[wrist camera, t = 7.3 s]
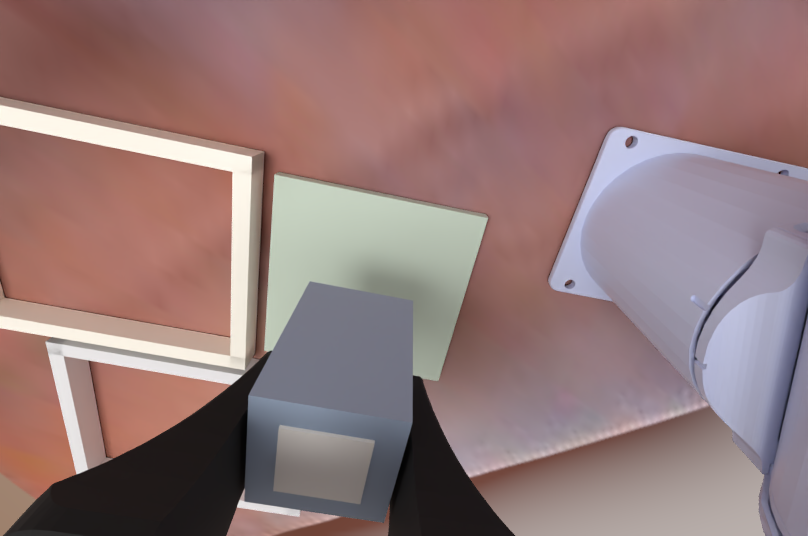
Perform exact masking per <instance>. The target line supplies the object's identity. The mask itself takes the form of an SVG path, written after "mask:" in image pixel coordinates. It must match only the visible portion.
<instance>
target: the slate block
mask: <svg viewBox="0 0 808 536" xmlns="http://www.w3.org/2000/svg"><path fill="white" fill-rule="evenodd" d="M412 423H413V300H407V299H402V298H397V297H391V296H386V295H381V294H375V293H370V292H365V291H359V290H354V289H349V288H343V287H338V286H333V285H327V284H322V283H317V282H311V281H310V282H309V283H308V285H307V287H306V289H305V291H304V293H303V295H302V297H301V298H300V300H299V302H298V304H297V306H296V308H295V310H294V311H293V313H292V315H291V317H290V319H289V321H288V323H287V324H286V326H285V328H284V330H283V332H282V334H281V336H280V337H279V339H278V341H277V343H276V345H275V347H274V349H273V351H272V352H271V354H270V356H269V358H268V360H267V362H266V364H265V365H264V367H263V369H262V371H261V373H260V375H259V377H258V378H257V380H256V382H255V384H254V386H253V388H252V390H251V392H250V393H249V395H248V420H247V445H246V470H245V495H244V502H250V503H256V504H263V505H270V506H276V507H283V508H290V509H296V510H303V511H309V512H316V513H323V514H329V515H336V516H343V517H349V518H357V519H363V520H370V521H376V522H382V523H384V520H385V517H386V513H387V510H388V507H389V503H390V500H391V496H392V493H393V489H394V486H395V482H396V479H397V475H398V472H399V468H400V465H401V461H402V458H403V454H404V451H405V447H406V444H407V440H408V437H409V433H410V430H411V426H412Z"/></svg>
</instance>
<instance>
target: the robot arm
mask: <svg viewBox="0 0 808 536" xmlns="http://www.w3.org/2000/svg"><path fill="white" fill-rule="evenodd" d="M630 136H632V137H633V143H632V144H631V145H630V146H629V147H626V146H625V141H626V140H627V138H628V137H630ZM779 171H781V174H777V173H778V172H779ZM568 280H572V283H571V284H569V285H565V283H566V281H568ZM548 282H549V285H550V286H551V288H552V289H554V290H556V291H561V292H566V293H571V294H576V295H581V296H586V297H592V298H597V299H602V300H607V301H612V302H614V303H615V304H616V305H617V306H618V307H619V308H620V309H621V310H622V312H623V313H624V314H625V315H626V316H627V317H628V318H629V319H630V320H631V321H632V322H633V323H634V325H635V326H636V327H637V328H638V329H639V330H640V331H641V332H642V333H643V334H644V335H645V336H646V338H647V339H648V340H649V341H650V342H651V343H652V344H653V345H654V346H655V347H656V348H657V350H658V351H659V352H660V353H661V354H662V355H663V356H664V357H665V358H666V359H667V360H668V361H669V363H670V364H671V365H672V366H673V367H674V368H675V369H676V370H677V371H678V372H679V373H680V374H681V376H682V377H683V378H684V379H685V380H686V381H687V382H688V383H689V384H690V385H691V386H692V388H693V389H694V390H695V391H696V392H697V393H698V394H699V395H700V396H701V397H702V398H703V399H704V400H705V401H706V402H707V403H708V404H709V406H710V407H711V408H712V409H713V410H714V411H715V412H716V413H717V415H718V416H719V417H720V418H721V419H722V420H723V421H724V422H725V423H726V424H727V425H728V426H729V427H730V428H731V429H732V432H733V442H735V444H736V445H737V446H738V447H739V448H740V449H741V450H742V452H743V453H744V454H745V455H746V456H747V457H748V458H749V459H750V460H751V462H752V463H753V464H754V465H755V466H756V467H757V468H758V469H759V470H760V472H761V473H762V474H764V479H763V483H762V487H761V490H760V494H759V514H760V519H761V523H762V528H763V531H764V533H765V536H808V168H804V167H799V166H795V165H790V164H786V163H782V162H777V161H773V160H768V159H764V158H759V157H755V156H750V155H746V154H741V153H737V152H732V151H728V150H723V149H719V148H714V147H710V146H705V145H701V144H696V143H692V142H688V141H683V140H679V139H674V138H670V137H665V136H661V135H656V134H652V133H647V132H643V131H638V130H634V129H629V128H625V127H615V128H613V129H611V130H610V131H609V132H608V133H607V135H606V137H605V139H604V142H603V144H602V147H601V149H600V152H599V154H598V157H597V159H596V162H595V164H594V167H593V169H592V172H591V174H590V177H589V179H588V181H587V184H586V186H585V189H584V191H583V194H582V196H581V199H580V201H579V204H578V206H577V209H576V211H575V214H574V216H573V219H572V221H571V224H570V226H569V229H568V231H567V234H566V236H565V239H564V241H563V243H562V246H561V248H560V251H559V253H558V256H557V258H556V261H555V263H554V266H553V268H552V271H551V273H550V276H549V279H548ZM271 352H272V350H271V351H269V352H267V353H266V354H265V355H264V356H263V357H262V358H261V359H260V360H259V361H258V362H257V363H256V364H255V365H254V366H252V367H251V368H250V369H249V370H248V371H247V372H246V373H245V374H244V375H242V376H241V377H240V378H239V379H238V380H237V381H235V382H234V383H233V384H232V385H231V386H229V387H228V388H227V389H226V390H225V391H223V392H222V393H221V394H219V395H218V396H217V397H215V398H214V399H213V400H211V401H210V402H209V403H208V404H206V405H205V406H203V407H202V408H201V409H199V410H198V411H196V412H195V413H193V414H192V415H191V416H189V417H187V418H186V419H184V420H183V421H181V422H180V423H178V424H177V425H175V426H173V427H172V428H170V429H168V430H167V431H165V432H163V433H161V434H160V435H158V436H156V437H155V438H153V439H151V440H149V441H147V442H146V443H144V444H142V445H140V446H138V447H136V448H134V449H132V450H130V451H128V452H126V453H124V454H122V455H120V456H118V457H116V458H114V459H111V460H109V461H107V462H105V463H103V464H100V465H98V466H96V467H94V468H91V469H89V470H86V471H84V472H81V473H79V474H76V475H74V476H72V477H69V478H67V479H64V480H62V481H59V482H57V483H54V484H52V485H51V486H50V487H49V488H48V489H47V490H46V491H45V492H44V493H43V494H42V495H41V496H40V497H39V498H38V499H37V500H36V501H35V502H34V503H33V504H32V505H31V506H30V507H29V508H28V509H27V510H26V512H24V513H23V515H22V516H21V517H20V518H19V519H18V520H17V521H16V522H15V523H14V525H12V527H11V528H10V529H9V530H8V531H7V532H6V533H5V534H4V535H3V536H226V535H227V532H228V529H229V527H230V524H231V521H232V519H233V516H234V513H235V511H236V508H237V505H238V503H239V500H240V498H241V495H242V493H243V491H244V489H245V470H246V445H247V420H248V395H249V393H250V392H251V390H252V388H253V386H254V384H255V382H256V380H257V378H258V377H259V375H260V373H261V371H262V369H263V367H264V365H265V364H266V362H267V360H268V358H269V356H270V354H271ZM388 536H515V535H514V534H513V533H512V532H511V531H510V530H509V529H508V527H507V526H506V525H505V524H504V523H503V522H502V521H501V519H500V518H499V517H498V516H497V515H496V513H495V512H494V511H493V510H492V508H491V507H490V506H489V505H488V503H487V502H486V500H484V498H483V497H482V495H481V494H480V493H479V491H478V490H477V489H476V487H475V486H474V484H473V483H472V481H471V480H470V478H469V477H468V475H467V474H466V472H465V471H464V469H463V467H462V466H461V464H460V463H459V461H458V459H457V458H456V456H455V454H454V452H453V450H452V449H451V447H450V445H449V443H448V441H447V439H446V437H445V435H444V433H443V431H442V429H441V427H440V425H439V422H438V420H437V418H436V416H435V413H434V411H433V409H432V406H431V403H430V401H429V398H428V395H427V393H426V390H425V386H424V383H423V380H422V378H421V377H420V376H414V375H413V423H412V426H411V430H410V433H409V437H408V440H407V444H406V447H405V451H404V454H403V458H402V461H401V465H400V468H399V472H398V475H397V479H396V482H395V486H394V489H393V493H392V496H391V500H390V516H389V532H388Z"/></svg>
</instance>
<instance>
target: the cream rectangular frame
mask: <svg viewBox="0 0 808 536" xmlns="http://www.w3.org/2000/svg"><path fill="white" fill-rule="evenodd" d="M0 125H5V126H9V127H14V128H19V129H24V130H29V131H34V132H39V133H44V134H49V135H54V136H59V137H64V138H69V139H74V140H78V141H83V142H88V143H93V144H98V145H103V146H108V147H113V148H118V149H123V150H128V151H133V152H138V153H143V154H147V155H152V156H157V157H162V158H167V159H172V160H177V161H182V162H187V163H192V164H197V165H202V166H207V167H212V168H216V169H221V170H226V171H231V172H233V183H232V263H231V338H230V337H224V336H218V335H213V334H207V333H202V332H196V331H190V330H185V329H179V328H173V327H168V326H162V325H156V324H151V323H145V322H139V321H134V320H128V319H123V318H117V317H111V316H106V315H100V314H94V313H89V312H83V311H77V310H72V309H66V308H60V307H55V306H49V305H43V304H38V303H32V302H27V301H21V300H15V299H10V298H5V297H4V293H3V289H2V286H1V282H0V328H3V329H9V330H15V331H21V332H26V333H32V334H38V335H44V336H50V337H55V338H61V339H67V340H73V341H78V342H84V343H90V344H96V345H102V346H107V347H113V348H119V349H125V350H131V351H136V352H142V353H148V354H154V355H160V356H165V357H171V358H177V359H183V360H189V361H194V362H200V363H206V364H212V365H218V366H223V367H229V368H235V369H241V370H245V369H246V368H247V366H248V364H249V363H250V361H251V359H252V358H253V356H254V354H255V345H256V324H257V302H258V280H259V258H260V237H261V215H262V193H263V172H264V151H260V150H255V149H250V148H245V147H240V146H236V145H231V144H226V143H221V142H216V141H211V140H207V139H202V138H197V137H192V136H187V135H182V134H178V133H173V132H168V131H163V130H158V129H153V128H149V127H144V126H139V125H134V124H129V123H124V122H120V121H115V120H110V119H105V118H100V117H95V116H91V115H86V114H81V113H76V112H71V111H67V110H62V109H57V108H52V107H47V106H42V105H38V104H33V103H28V102H23V101H18V100H13V99H9V98H4V97H0Z"/></svg>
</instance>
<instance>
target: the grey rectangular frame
mask: <svg viewBox="0 0 808 536" xmlns="http://www.w3.org/2000/svg"><path fill="white" fill-rule="evenodd" d="M46 346H47V350H48V354H49V358H50V363H51V367H52V371H53V376H54V380H55V384H56V388H57V393H58V397H59V401H60V405H61V410H62V414H63V418H64V422H65V427H66V431H67V435H68V439H69V444H70V448H71V452H72V456H73V461H74V465H75V469H76V473H77V474H79V473H81V472H84V471H86V470H89V469H91V468H94V467H96V466H98V465H100V464H103V463H105V462H107V461H109V460H111V459H113V458H106V454H105V449H104V443H103V438H102V432H101V427H100V421H99V416H98V410H97V405H96V399H95V394H94V388H93V383H92V377H91V372H90V366H89V361H95V362H101V363H107V364H113V365H119V366H125V367H131V368H136V369H142V370H148V371H154V372H160V373H166V374H172V375H178V376H184V377H189V378H195V379H201V380H207V381H213V382H219V383H225V384H231V385H232V384H233V383H234V382H235V381H237V380H238V379H239V378H240V377H241V376H242V375H244V374H245V373H246V372H247V371H248V370H249V369H250V368H251V367H252V366H254V365H255V364H256V363H257V362H258V361H259V360H260V359H254V358H252V359H251V361H250V363H249V364H248V366H247V368H246V369H245V370H241V369H235V368H229V367H223V366H218V365H212V364H206V363H200V362H194V361H189V360H183V359H177V358H171V357H165V356H160V355H154V354H148V353H142V352H136V351H131V350H125V349H119V348H113V347H107V346H102V345H96V344H90V343H84V342H78V341H73V340H67V339H61V338H55V337H52V338H50V339H49V340H47V341H46ZM88 360H89V361H88ZM244 495H245V489H244V491H243V493H242V495H241V498H240V500H239V503H238V505H237V507H238V508H245V509H251V510H258V511H264V512H271V513H278V514H284V515H291V516H298V517H299V516H300V512H301V510H296V509H290V508H283V507H276V506H270V505H263V504H256V503H250V502H244Z"/></svg>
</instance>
